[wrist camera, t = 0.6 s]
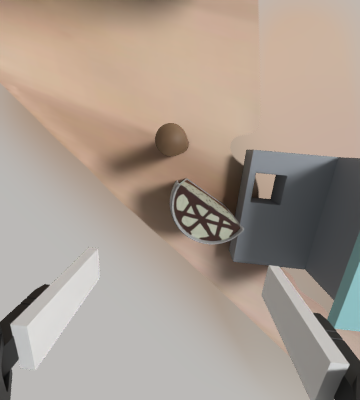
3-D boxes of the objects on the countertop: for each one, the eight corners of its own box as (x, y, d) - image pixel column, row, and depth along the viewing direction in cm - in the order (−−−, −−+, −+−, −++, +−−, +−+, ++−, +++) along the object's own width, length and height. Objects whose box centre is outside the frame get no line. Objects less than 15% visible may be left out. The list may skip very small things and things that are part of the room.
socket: (246, 149, 33) (294, 150, 18) (327, 156, 33) (449, 163, 17) (229, 250, 39) (254, 318, 23) (298, 257, 38) (372, 333, 23)
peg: (170, 133, 33) (156, 121, 20) (189, 134, 33) (188, 124, 20) (169, 152, 34) (154, 154, 21) (187, 154, 34) (185, 157, 21)
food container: (161, 199, 37) (151, 217, 27) (180, 173, 35) (175, 182, 26) (212, 233, 38) (219, 262, 28) (232, 210, 36) (246, 232, 27)
